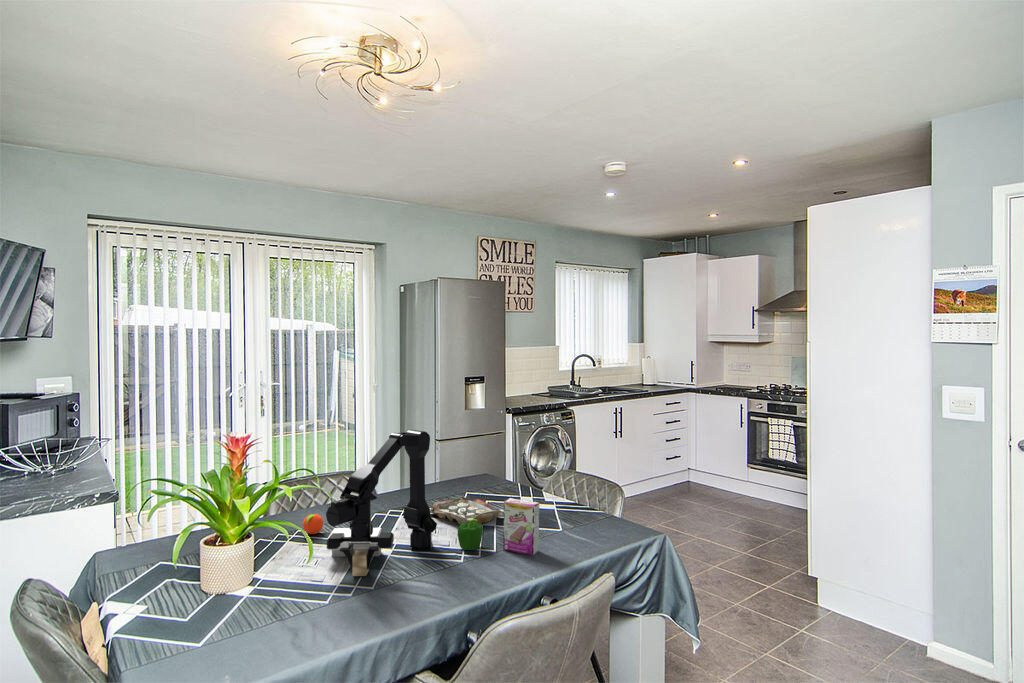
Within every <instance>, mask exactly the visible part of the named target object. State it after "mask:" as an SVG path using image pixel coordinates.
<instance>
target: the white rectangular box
mask: <svg viewBox="0 0 1024 683" xmlns="http://www.w3.org/2000/svg"><path fill="white" fill-rule="evenodd" d="M381 532H382V527H373V533H372V535H371V537H374V536H379V535H380V533H381ZM332 533H344V535H345V537H351V529H350V527H342V528H341V527H340V528H339V527H335V528H333V530H332V531H331V532H330V534H329V536H328V537H327V540H328V538H329V537H330V535H331V534H332ZM327 540H326V541H327ZM369 547H370V543H365V544H354V545H353V552H355V551H359V550H366V549H369ZM340 548H341V545H340V546H339V547H338V548H337V549H327V548H326V550H327V551H331V558H339V557H342V558H344V557H345V558H347V557H346V556H345V554H344V553H343V552H341V551H340ZM381 553H382V548H379V550H378V551H375V552H374V554H373V557H380V556H381Z"/></svg>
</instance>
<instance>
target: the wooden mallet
mask: <svg viewBox="0 0 1024 683" xmlns="http://www.w3.org/2000/svg"><path fill="white" fill-rule="evenodd" d="M367 558H368V549H366V550H359V551H355V552H354V554H353V570H352V571H351V572H352V577H366V576H367V575H368V573H369V571H370V568H369V569H367Z"/></svg>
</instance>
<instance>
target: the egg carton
mask: <svg viewBox="0 0 1024 683" xmlns="http://www.w3.org/2000/svg"><path fill="white" fill-rule="evenodd" d="M502 512H503V513H504V508H497V509H496V508H495V507H493V506H491V504H490V503H487V502H485V501H483V500H481V499H479V498H473V497H466V496H465V497H464V496H458V497H453V498H449V499H446V500H444V501H443V500H442V501H437V502H435V503H433V504H432V506H431V507H430V514H431V515H435V516H437V517H438V518H439V519H443V520H447V519H448V520H449V522H452V523H453V522H455V521H456V522H457V523H458V525H460V524H462V523H463V522H465V523H469V522H470V520H472V519H477V520H478V521H477V522H475V523H476V524H481V525H482V523H489V522H490V521H492V519H493V518H494V517H495V518H496V519H498V517H499V515H501V513H502Z"/></svg>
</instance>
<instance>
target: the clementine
mask: <svg viewBox="0 0 1024 683" xmlns="http://www.w3.org/2000/svg"><path fill="white" fill-rule="evenodd" d="M302 528H303V531H304V532H305V533H307V534H308V535H316V534H318V533H319V532H320V531H321V530H322V529H323V528H324V519H323V518H322V516H321V515H319V514H318V513H311V514H309V515H307V516H306V517H305V518H304V519H303V523H302Z"/></svg>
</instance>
